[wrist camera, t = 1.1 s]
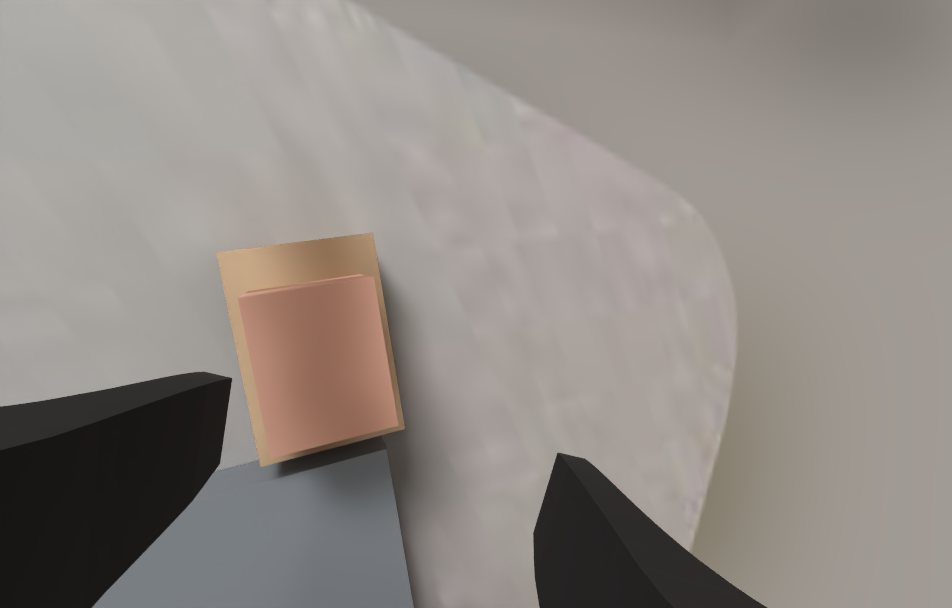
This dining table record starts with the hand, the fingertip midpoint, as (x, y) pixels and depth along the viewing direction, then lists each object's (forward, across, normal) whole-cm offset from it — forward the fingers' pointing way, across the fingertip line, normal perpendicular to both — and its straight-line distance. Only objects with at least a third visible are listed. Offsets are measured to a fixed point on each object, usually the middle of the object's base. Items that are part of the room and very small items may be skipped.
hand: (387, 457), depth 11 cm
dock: (+9, +5, +13) cm, 17 cm away
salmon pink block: (+8, +4, +1) cm, 9 cm away
